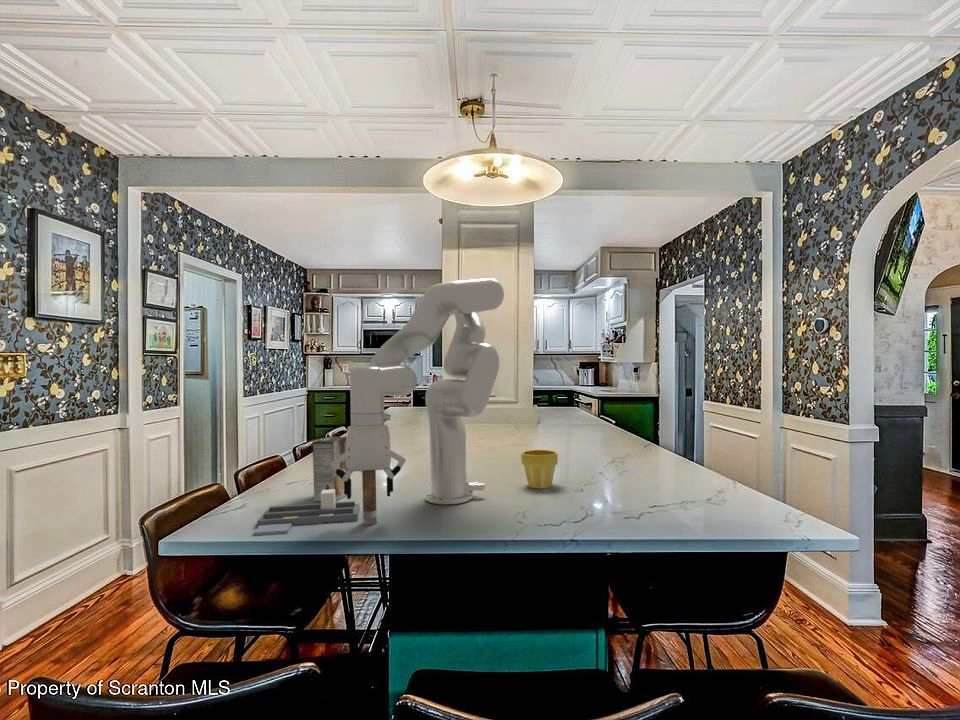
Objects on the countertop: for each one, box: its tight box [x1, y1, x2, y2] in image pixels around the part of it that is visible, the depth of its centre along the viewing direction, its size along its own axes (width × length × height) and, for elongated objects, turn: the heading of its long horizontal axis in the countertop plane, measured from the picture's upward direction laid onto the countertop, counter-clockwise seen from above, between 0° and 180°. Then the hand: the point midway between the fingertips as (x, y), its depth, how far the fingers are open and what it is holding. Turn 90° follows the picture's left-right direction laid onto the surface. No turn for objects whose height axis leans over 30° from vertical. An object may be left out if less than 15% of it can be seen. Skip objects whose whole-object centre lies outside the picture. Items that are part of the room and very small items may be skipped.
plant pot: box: [520, 449, 559, 490], centre depth 151 cm, size 10×10×10 cm
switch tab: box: [320, 489, 337, 509], centre depth 125 cm, size 3×4×4 cm
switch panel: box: [256, 500, 360, 527], centre depth 125 cm, size 22×9×2 cm, turn 100°
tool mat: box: [253, 523, 293, 536], centre depth 116 cm, size 7×5×1 cm
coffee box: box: [311, 436, 347, 502], centre depth 143 cm, size 9×6×16 cm
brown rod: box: [361, 470, 377, 526], centre depth 120 cm, size 3×3×14 cm
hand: (369, 496), depth 120 cm, fingers open, 8 cm apart
